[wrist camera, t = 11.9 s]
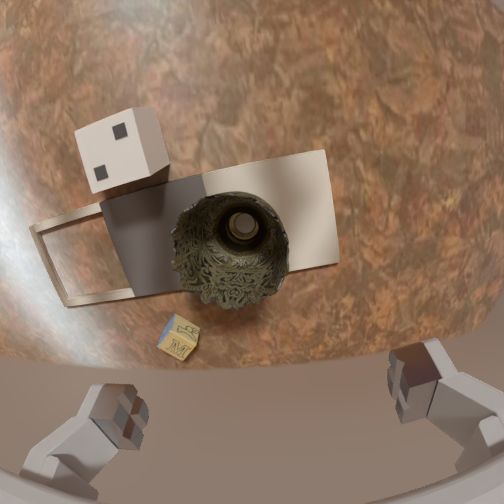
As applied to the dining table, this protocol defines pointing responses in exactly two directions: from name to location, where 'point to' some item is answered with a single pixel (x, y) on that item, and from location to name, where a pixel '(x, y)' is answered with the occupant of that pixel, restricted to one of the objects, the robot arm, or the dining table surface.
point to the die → (122, 148)
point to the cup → (230, 250)
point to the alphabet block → (179, 337)
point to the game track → (189, 192)
